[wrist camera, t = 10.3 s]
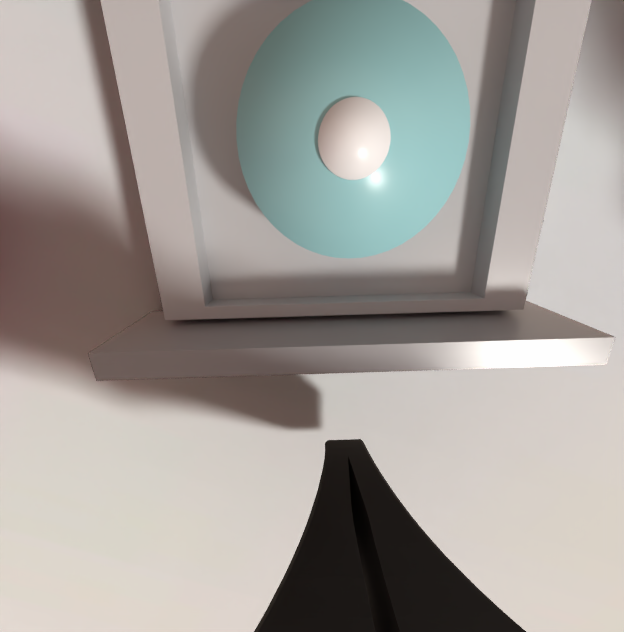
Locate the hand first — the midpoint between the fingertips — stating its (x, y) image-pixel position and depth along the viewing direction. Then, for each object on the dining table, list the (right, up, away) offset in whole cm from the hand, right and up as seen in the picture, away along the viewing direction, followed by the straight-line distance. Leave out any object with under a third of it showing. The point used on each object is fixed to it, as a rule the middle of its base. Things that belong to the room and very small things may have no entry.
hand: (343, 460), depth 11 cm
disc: (0, +10, -3) cm, 10 cm away
